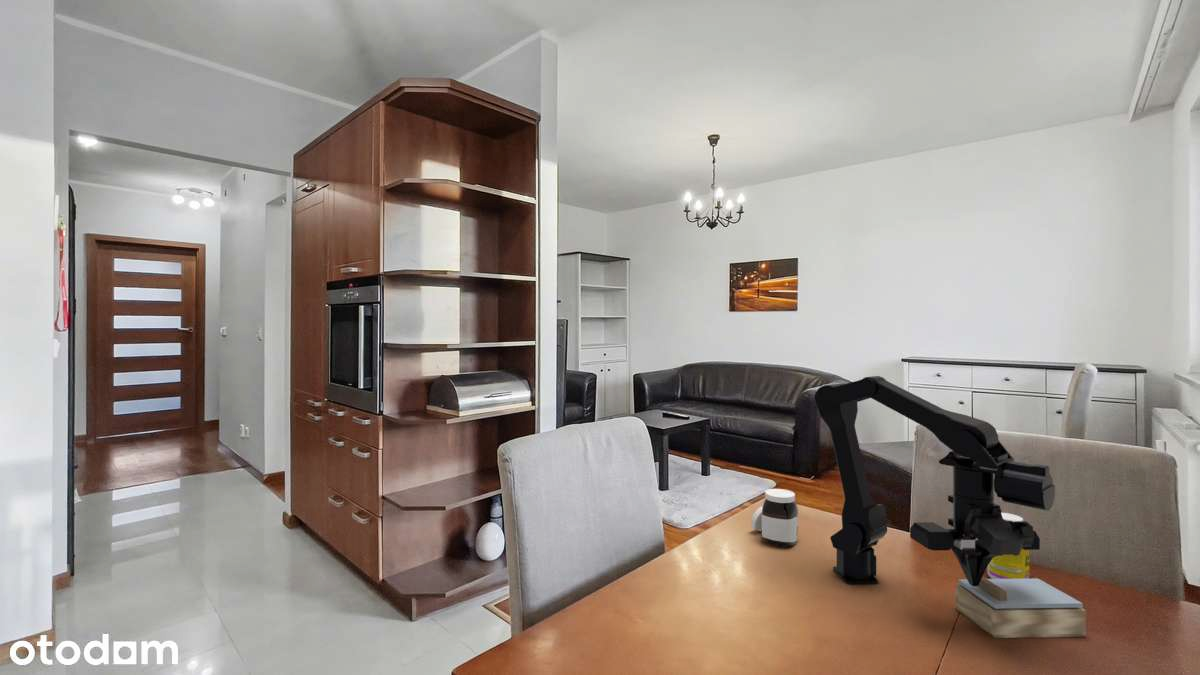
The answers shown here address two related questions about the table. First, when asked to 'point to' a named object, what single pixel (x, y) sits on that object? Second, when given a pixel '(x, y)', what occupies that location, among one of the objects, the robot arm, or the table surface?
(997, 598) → the lid
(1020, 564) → the supplement bottle
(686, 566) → the table surface
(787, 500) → the spread jar
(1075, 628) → the wooden box
